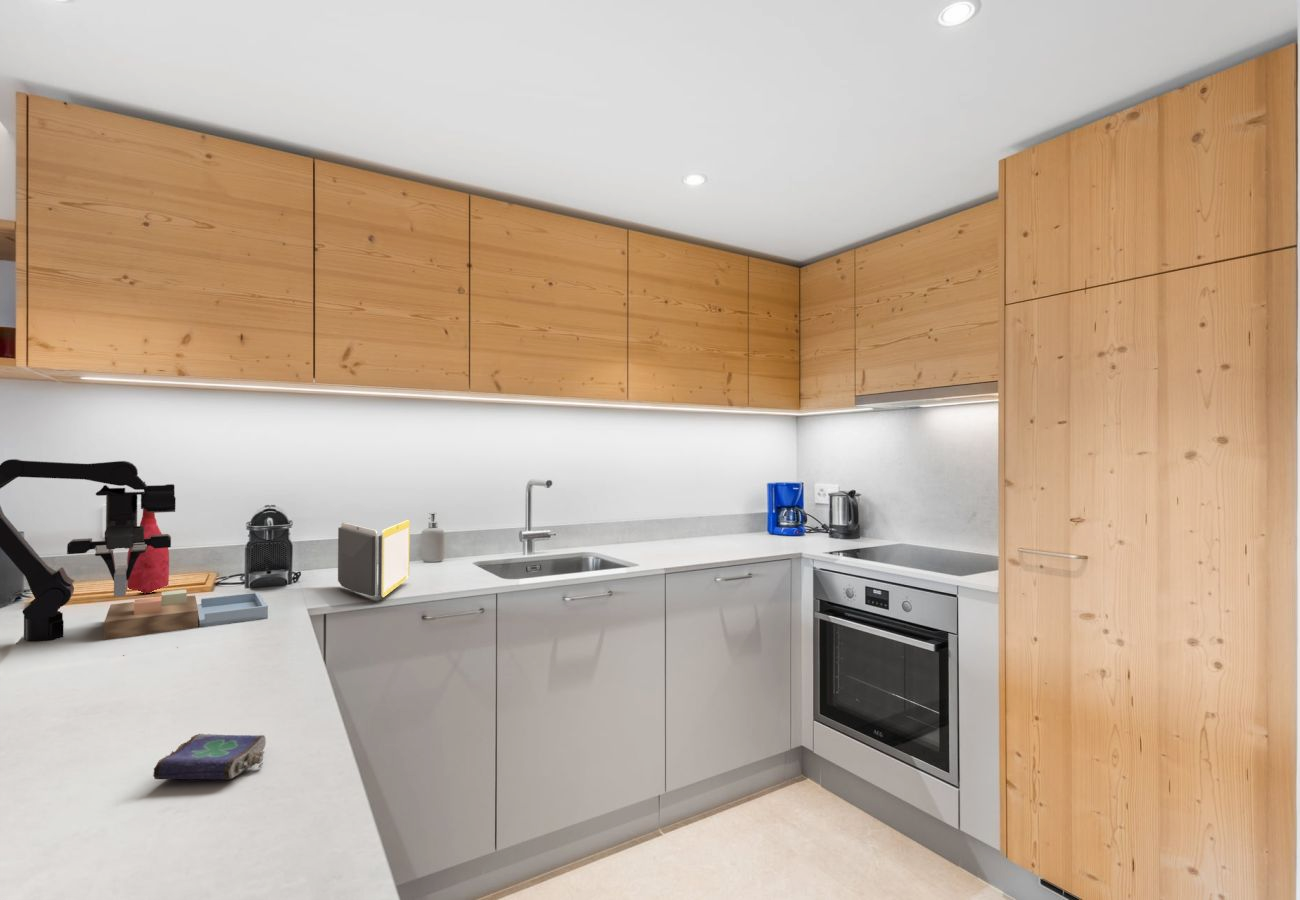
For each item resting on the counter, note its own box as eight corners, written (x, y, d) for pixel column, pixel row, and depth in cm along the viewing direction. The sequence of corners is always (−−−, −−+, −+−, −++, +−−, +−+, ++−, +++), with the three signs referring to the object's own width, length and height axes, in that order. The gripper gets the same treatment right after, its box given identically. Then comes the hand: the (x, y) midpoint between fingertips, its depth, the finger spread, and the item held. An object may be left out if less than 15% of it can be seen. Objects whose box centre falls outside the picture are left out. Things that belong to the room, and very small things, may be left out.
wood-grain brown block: (104, 639, 143) (104, 621, 143) (110, 620, 159) (110, 604, 159) (198, 627, 153) (198, 610, 153) (195, 610, 169) (195, 595, 169)
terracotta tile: (134, 614, 149) (134, 603, 149) (134, 610, 153) (134, 599, 153) (161, 611, 152) (161, 600, 152) (161, 607, 156) (161, 597, 156)
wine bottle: (119, 593, 189) (119, 491, 189) (155, 587, 198) (156, 489, 198) (140, 596, 185) (140, 492, 185) (176, 589, 194) (176, 490, 194)
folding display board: (329, 583, 205) (329, 521, 205) (396, 574, 220) (396, 516, 220) (372, 601, 180) (372, 531, 180) (444, 589, 195) (444, 525, 195)
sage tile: (161, 605, 158) (161, 595, 158) (161, 601, 162) (161, 591, 162) (186, 602, 161) (186, 592, 161) (186, 599, 165) (186, 589, 165)
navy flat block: (200, 730, 89) (281, 732, 89) (199, 751, 89) (279, 753, 89) (153, 763, 79) (243, 765, 80) (151, 786, 79) (242, 789, 80)
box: (199, 627, 153) (199, 614, 153) (196, 610, 169) (196, 599, 169) (267, 618, 162) (267, 606, 162) (258, 603, 178) (258, 592, 178)
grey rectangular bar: (113, 596, 146) (114, 574, 146) (117, 586, 157) (117, 566, 157) (125, 595, 147) (125, 573, 147) (127, 585, 159) (128, 565, 159)
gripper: (64, 519, 140) (63, 591, 140) (171, 514, 152) (170, 581, 152) (70, 515, 149) (69, 582, 149) (170, 511, 161) (170, 574, 160)
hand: (121, 580), depth 152 cm, fingers closed on grey rectangular bar, 2 cm apart
